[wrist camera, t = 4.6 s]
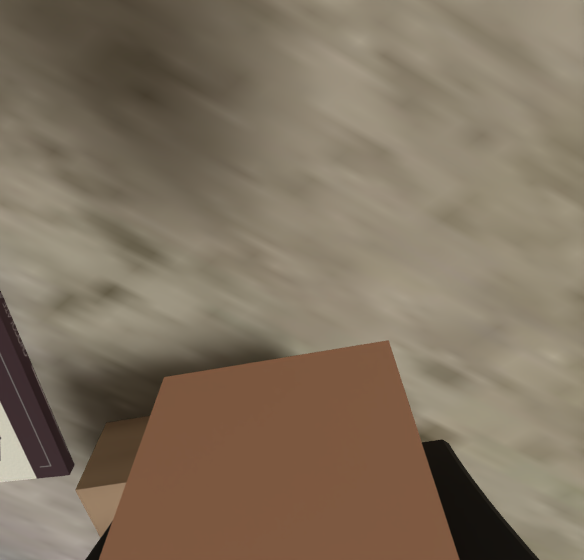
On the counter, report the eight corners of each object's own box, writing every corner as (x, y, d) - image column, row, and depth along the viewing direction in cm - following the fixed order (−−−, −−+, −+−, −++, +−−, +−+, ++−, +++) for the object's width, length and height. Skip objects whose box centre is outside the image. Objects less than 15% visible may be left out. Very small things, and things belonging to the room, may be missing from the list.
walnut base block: (344, 527, 23) (353, 608, 20) (169, 551, 23) (151, 633, 20) (313, 383, 19) (317, 453, 16) (109, 416, 20) (75, 490, 17)
